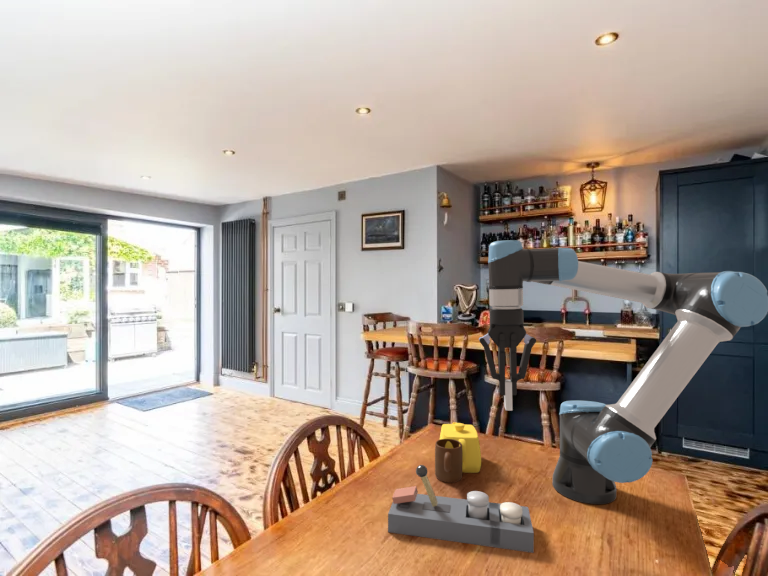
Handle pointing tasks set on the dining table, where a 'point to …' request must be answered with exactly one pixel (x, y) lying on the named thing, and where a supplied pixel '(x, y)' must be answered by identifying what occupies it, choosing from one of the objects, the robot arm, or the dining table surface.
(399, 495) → the rocker
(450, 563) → the dining table surface
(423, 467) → the lever
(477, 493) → the button
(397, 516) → the console
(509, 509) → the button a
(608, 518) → the dining table surface
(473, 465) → the teapot
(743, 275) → the robot arm
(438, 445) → the mug
